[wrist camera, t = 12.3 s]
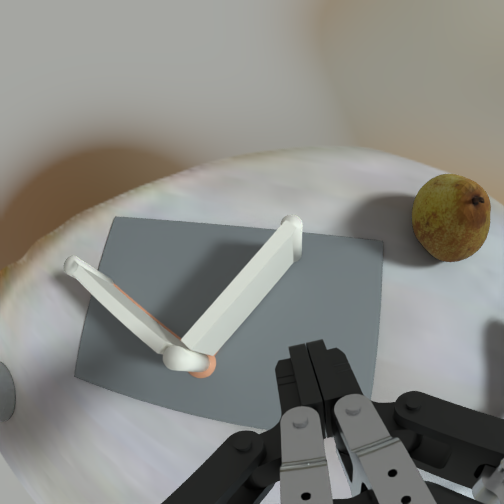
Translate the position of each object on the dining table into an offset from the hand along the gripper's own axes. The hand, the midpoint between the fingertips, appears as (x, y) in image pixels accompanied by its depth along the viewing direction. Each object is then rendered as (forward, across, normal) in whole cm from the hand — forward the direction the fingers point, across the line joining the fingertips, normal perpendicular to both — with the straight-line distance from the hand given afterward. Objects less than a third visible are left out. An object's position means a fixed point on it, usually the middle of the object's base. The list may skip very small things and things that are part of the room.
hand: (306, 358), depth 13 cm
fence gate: (+18, +3, +6) cm, 19 cm away
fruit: (+20, -19, +4) cm, 28 cm away
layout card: (+18, +6, +7) cm, 20 cm away
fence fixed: (+18, +14, +7) cm, 24 cm away
